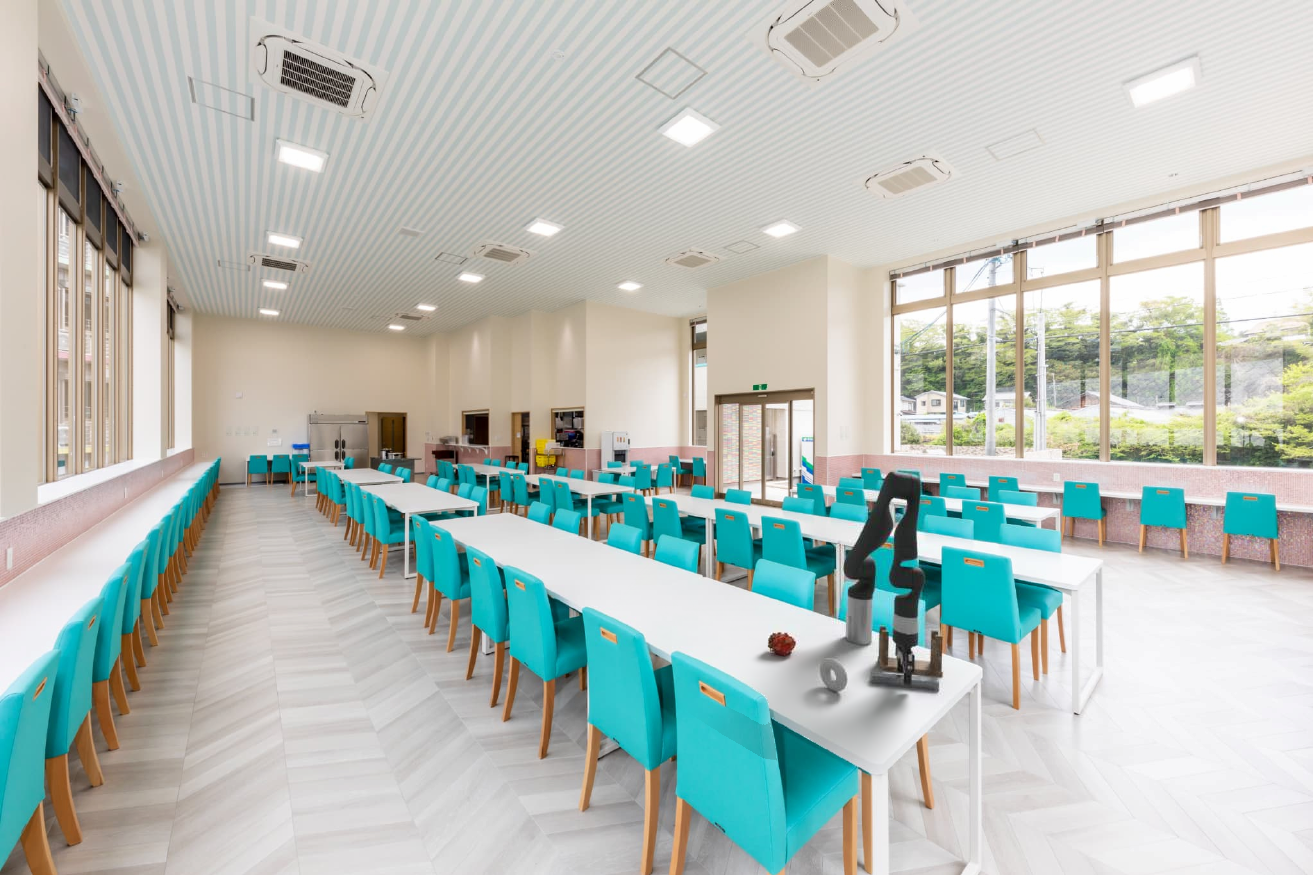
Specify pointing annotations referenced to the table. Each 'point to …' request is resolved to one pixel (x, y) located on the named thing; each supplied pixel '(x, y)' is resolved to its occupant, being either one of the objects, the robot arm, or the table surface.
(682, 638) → the table surface
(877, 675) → the steel bar
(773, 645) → the red bumpy oval lump
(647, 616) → the table surface
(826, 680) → the donut
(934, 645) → the walnut stand
